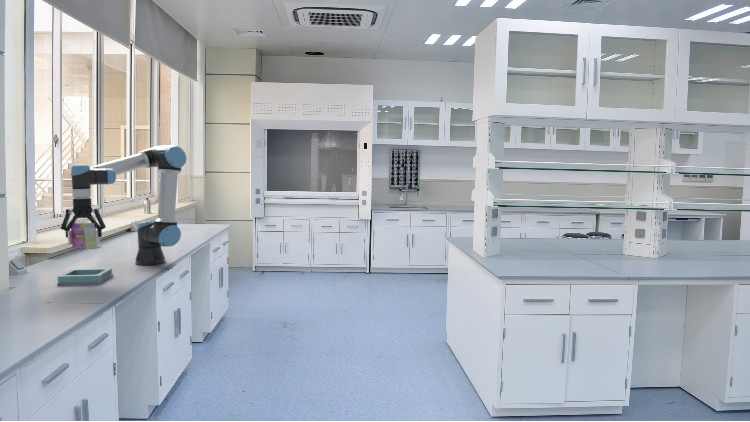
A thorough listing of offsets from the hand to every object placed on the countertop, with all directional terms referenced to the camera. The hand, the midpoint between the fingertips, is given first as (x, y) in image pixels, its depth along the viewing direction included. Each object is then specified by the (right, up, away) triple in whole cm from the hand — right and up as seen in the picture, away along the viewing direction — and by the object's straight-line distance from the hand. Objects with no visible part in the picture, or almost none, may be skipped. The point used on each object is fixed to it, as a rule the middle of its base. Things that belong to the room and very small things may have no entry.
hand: (84, 244), depth 246 cm
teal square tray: (0, -17, +2) cm, 17 cm away
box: (0, -2, 0) cm, 2 cm away
